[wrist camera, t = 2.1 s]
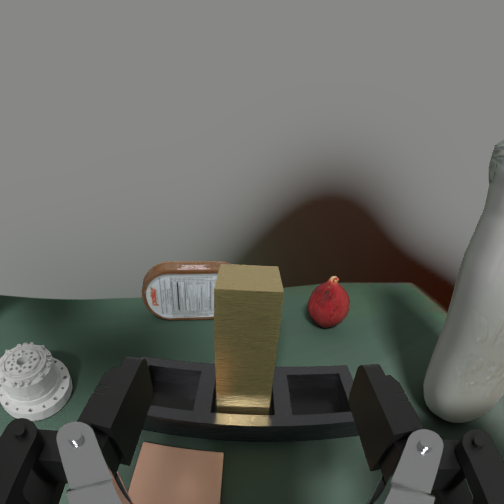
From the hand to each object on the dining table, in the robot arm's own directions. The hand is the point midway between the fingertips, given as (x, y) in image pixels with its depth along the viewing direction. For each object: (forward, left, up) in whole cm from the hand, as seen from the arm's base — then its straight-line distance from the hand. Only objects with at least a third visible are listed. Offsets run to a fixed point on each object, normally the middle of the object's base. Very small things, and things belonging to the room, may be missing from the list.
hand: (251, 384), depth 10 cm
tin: (+15, +25, -15) cm, 33 cm away
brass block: (+8, +8, -15) cm, 18 cm away
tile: (-2, +5, -15) cm, 16 cm away
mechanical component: (-10, +22, -15) cm, 29 cm away
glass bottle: (+22, -10, -15) cm, 28 cm away
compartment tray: (+8, +8, -15) cm, 19 cm away
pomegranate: (+27, +11, -15) cm, 33 cm away
